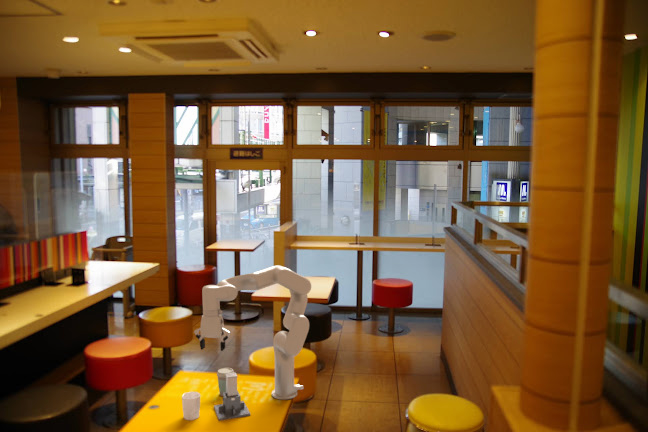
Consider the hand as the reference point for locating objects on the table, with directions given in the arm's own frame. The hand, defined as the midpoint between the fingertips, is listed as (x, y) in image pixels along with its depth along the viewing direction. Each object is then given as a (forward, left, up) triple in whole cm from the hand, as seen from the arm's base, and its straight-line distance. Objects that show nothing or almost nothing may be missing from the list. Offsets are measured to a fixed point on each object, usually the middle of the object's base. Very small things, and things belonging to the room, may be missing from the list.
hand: (212, 349), depth 236 cm
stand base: (-8, +4, -29) cm, 30 cm away
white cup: (+10, +3, -29) cm, 31 cm away
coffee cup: (-9, -16, -29) cm, 34 cm away
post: (-8, +4, -28) cm, 29 cm away
